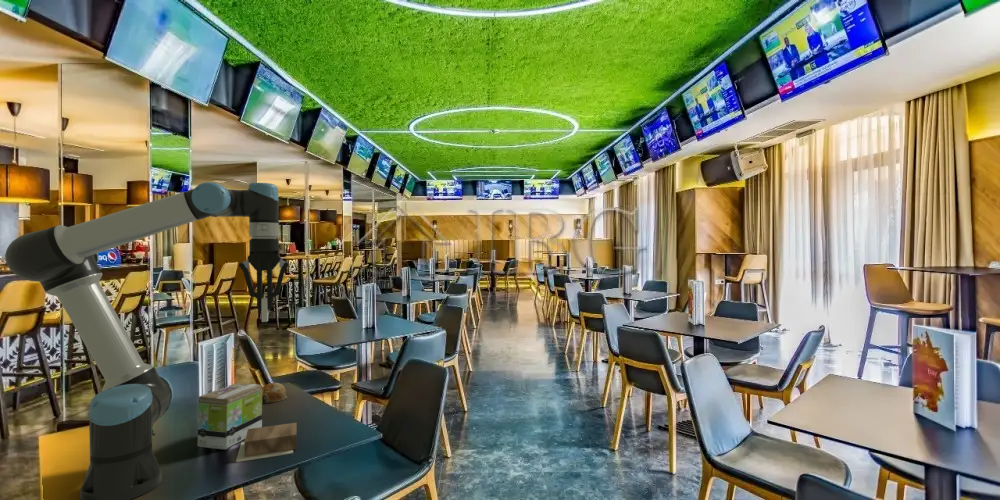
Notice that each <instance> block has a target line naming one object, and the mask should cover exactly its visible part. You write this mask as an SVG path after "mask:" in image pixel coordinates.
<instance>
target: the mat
mask: <svg viewBox="0 0 1000 500" xmlns="http://www.w3.org/2000/svg"><path fill="white" fill-rule="evenodd" d="M240 442H241V443H240V446H239V449H238V452H237V455H236V458H235V459H236V460H235V462H236V463H240V462H245V461H247V462H248V461H253V460H259V459H267V458H274V457H279V456H284V455H291V454H294V449H292V450H285V451H279V452H272V453H266V454H259V455H253V456H246V457H245V447H244V442H245V441H240Z"/></svg>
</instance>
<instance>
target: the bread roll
mask: <svg viewBox="0 0 1000 500" xmlns="http://www.w3.org/2000/svg"><path fill="white" fill-rule="evenodd" d="M286 399H288V396H287V390H286V388H285V386H284V385H283V384H282V383H279V382H270V383H267V384H265V385H264V386H262V404H271V403H272V404H274V403H277V402H281V401H284V400H286Z"/></svg>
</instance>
